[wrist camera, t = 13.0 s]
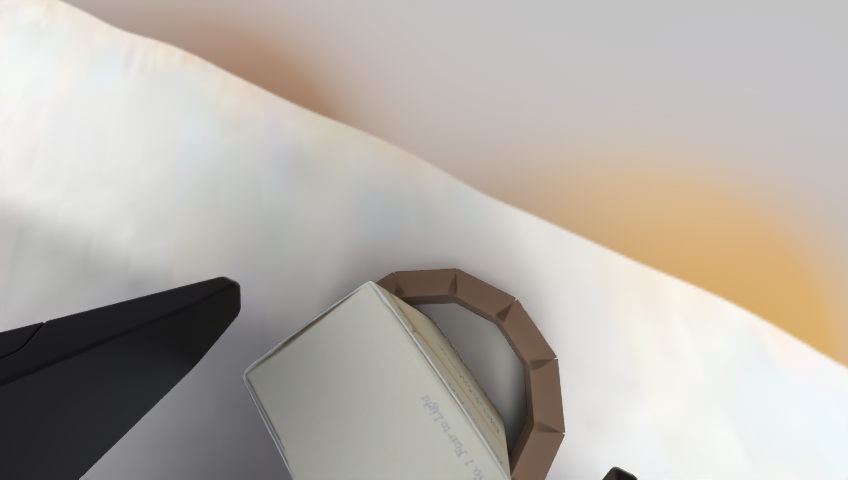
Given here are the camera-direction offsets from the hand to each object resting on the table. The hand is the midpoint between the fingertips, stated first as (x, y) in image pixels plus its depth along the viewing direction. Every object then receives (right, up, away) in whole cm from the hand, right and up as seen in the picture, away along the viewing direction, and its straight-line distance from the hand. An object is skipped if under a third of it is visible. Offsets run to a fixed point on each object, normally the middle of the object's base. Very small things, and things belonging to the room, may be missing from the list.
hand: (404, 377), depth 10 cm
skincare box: (+1, -5, +13) cm, 13 cm away
